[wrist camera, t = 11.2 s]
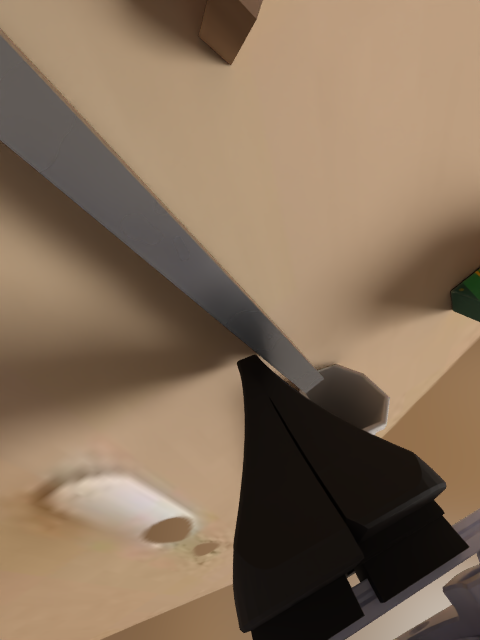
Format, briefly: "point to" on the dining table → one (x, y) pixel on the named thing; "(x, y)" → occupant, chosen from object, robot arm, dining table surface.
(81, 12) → the dining table surface
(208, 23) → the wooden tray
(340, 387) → the tube
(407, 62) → the dining table surface
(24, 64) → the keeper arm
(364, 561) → the robot arm
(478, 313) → the crayon box
